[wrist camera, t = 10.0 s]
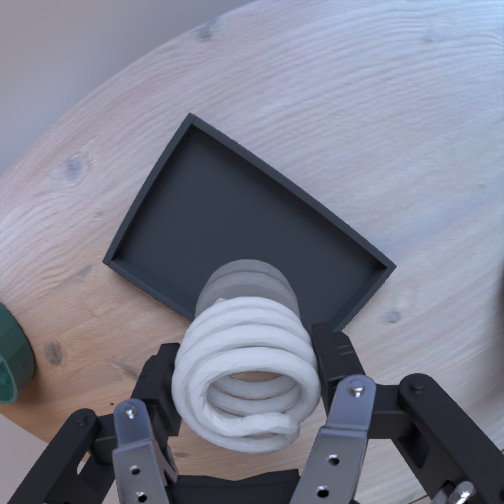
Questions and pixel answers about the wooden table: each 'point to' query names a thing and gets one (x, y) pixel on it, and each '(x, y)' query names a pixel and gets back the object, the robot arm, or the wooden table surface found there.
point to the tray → (239, 231)
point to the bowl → (13, 359)
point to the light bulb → (246, 361)
